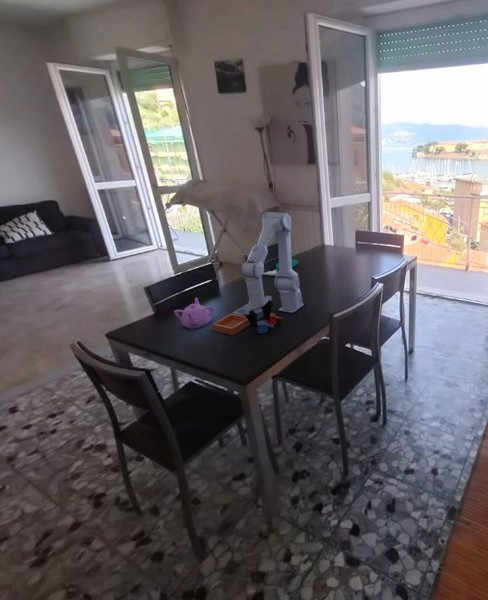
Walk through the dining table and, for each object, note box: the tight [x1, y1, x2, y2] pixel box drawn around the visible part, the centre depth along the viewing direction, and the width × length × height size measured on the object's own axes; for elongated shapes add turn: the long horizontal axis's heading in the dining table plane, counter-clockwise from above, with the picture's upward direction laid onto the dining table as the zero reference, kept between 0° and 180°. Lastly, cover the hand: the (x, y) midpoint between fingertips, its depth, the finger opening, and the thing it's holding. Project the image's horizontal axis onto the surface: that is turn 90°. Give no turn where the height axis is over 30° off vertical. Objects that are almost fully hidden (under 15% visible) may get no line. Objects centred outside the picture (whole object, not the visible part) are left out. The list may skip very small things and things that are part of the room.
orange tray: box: [211, 313, 251, 336], centre depth 147 cm, size 11×11×3 cm
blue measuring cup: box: [256, 319, 275, 335], centre depth 143 cm, size 8×4×4 cm, turn 68°
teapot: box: [173, 297, 215, 330], centre depth 150 cm, size 12×14×9 cm
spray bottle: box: [263, 258, 299, 276], centre depth 213 cm, size 3×11×24 cm
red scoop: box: [265, 312, 284, 326], centre depth 149 cm, size 8×4×4 cm, turn 68°
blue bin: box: [232, 303, 264, 321], centre depth 157 cm, size 11×11×3 cm
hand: (261, 323), depth 143 cm, fingers open, 7 cm apart
